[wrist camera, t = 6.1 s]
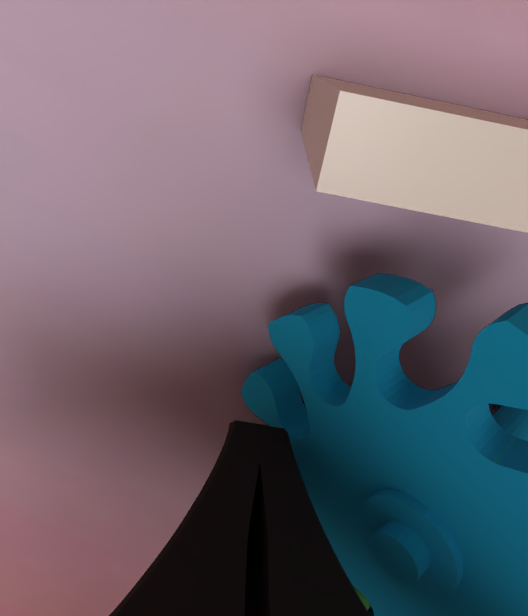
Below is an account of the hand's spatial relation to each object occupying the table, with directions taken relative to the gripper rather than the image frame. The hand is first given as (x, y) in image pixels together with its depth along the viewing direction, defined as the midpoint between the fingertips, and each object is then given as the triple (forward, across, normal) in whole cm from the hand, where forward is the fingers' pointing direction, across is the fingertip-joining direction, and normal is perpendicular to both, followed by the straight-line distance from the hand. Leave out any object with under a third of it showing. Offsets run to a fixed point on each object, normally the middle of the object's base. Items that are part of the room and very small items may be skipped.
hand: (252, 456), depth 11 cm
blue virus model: (+2, -3, 0) cm, 4 cm away
